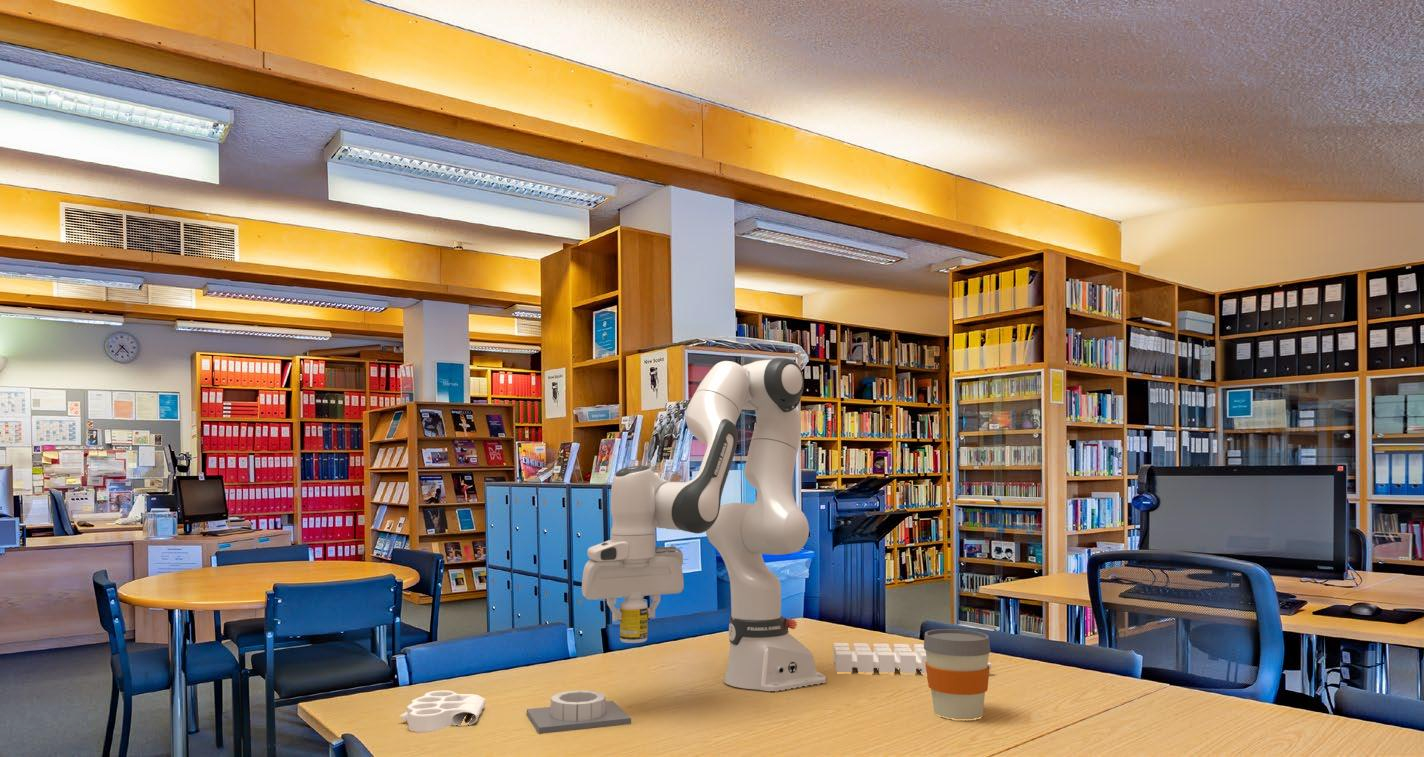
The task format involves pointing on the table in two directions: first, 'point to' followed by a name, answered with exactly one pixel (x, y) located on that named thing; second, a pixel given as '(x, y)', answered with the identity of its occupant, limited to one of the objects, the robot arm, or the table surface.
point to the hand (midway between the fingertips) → (633, 619)
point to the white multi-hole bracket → (442, 710)
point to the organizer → (880, 657)
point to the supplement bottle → (634, 619)
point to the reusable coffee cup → (957, 671)
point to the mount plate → (577, 712)
